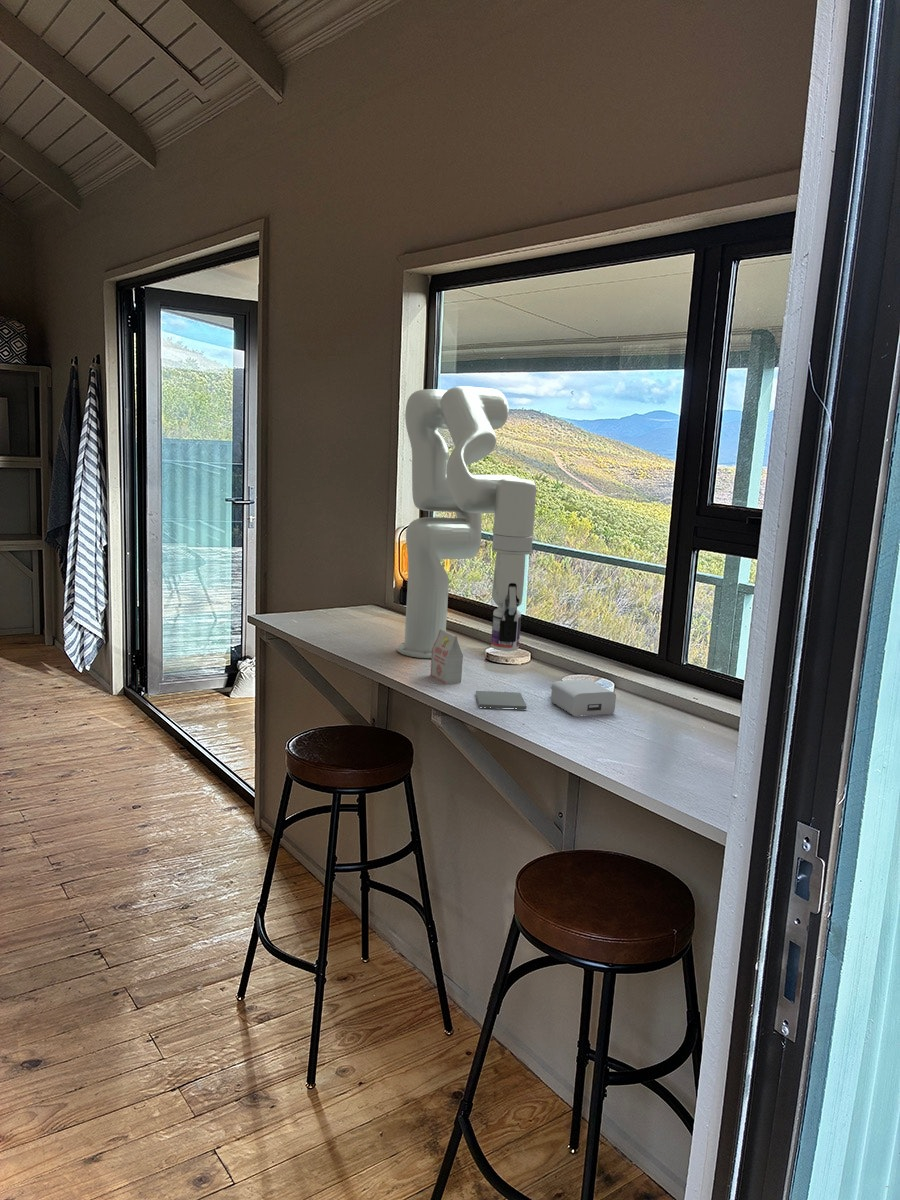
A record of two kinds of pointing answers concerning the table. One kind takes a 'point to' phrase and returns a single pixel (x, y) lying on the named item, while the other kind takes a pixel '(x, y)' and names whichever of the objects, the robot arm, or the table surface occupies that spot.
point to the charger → (582, 697)
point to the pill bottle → (495, 631)
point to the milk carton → (446, 659)
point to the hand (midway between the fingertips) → (505, 636)
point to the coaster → (500, 699)
